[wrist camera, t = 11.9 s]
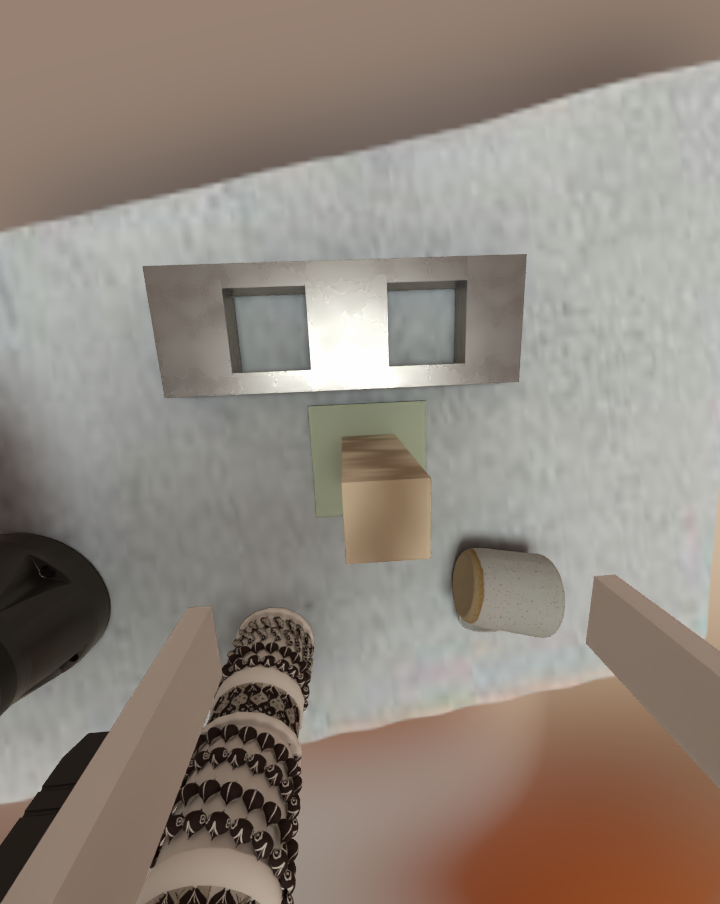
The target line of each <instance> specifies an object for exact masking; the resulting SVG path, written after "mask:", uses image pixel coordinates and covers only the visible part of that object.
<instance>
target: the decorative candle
mask: <svg viewBox="0 0 720 904" xmlns="http://www.w3.org/2000/svg"><path fill="white" fill-rule="evenodd" d="M313 642H314V635H313V633H312V630H311V627H310V625H309V624H308V623H307V622H306V621H305V620H304V619H303V617H302V616H301V615H299V614H297V613H295V612H293V611H290V610H288V609H284V608H267V609H263V610H260V611H256V612H255V613H253V614H252V615H250V616H249V617H248V618H246V619H245V620H244V622H243V623H242V625H241V627H240V629H239V630H238V632H237V639H234V640H233V642H232V644H233V645H234V646H235V647H236V649H237V650H236V649H235V650H233V651H229V652H228V654H227V656H228V657H229V658H228V663H227V664H226V665H224V666H223V668H222V678H221V680H220V683H219V686H218V688H217V692H216V694H215V696H214V701H213V703H212V706H211V708H210V718H209V720H208V722H207V725H206V726H205V727H204V728H202V731H201V733H200V736H199V739H198V741H197V744H196V747H195V749H194V752H193V754H192V757H191V760H190V762H189V765H188V768H187V770H186V773H185V776H184V778H183V781H182V784H181V786H180V789H179V792H178V794H177V797H176V799H175V802H174V805H173V807H172V810H171V813H170V815H169V818H168V821H167V823H166V826H165V829H164V831H163V834H162V837H161V839H160V842H159V844H158V847H157V850H156V852H155V855H154V858H153V860H152V863H151V866H150V869H151V871H150V872H149V874H148V876H147V877H146V879H145V882H144V884H143V887H142V889H141V892H140V895H139V897H138V900H137V903H136V904H294V902H293V897H292V895H291V894H292V893H293V891H294V888H295V881H296V880H295V874H296V866H295V863H294V862H293V861H294V860H295V859H296V857H297V855H298V843H297V842H296V841H295V840H294V839H292V837H294V836H295V835H296V833H297V831H298V821H297V819H296V817H297V816H298V814H299V811H300V798H299V795H298V793H299V792H300V790H301V788H302V779H301V777H300V776H299V775H300V774H301V768H300V764H301V754H302V748H301V746H300V743H299V741H298V734H299V730H300V729H301V725H302V716H303V711H304V710H305V709H306V708H307V706H308V702H307V700H306V699H307V698H308V696H309V687H308V685H307V684H308V683H309V682H310V680H311V668H312V665H313V659H312V655H313V653H314V647H313ZM188 776H189V777H188ZM176 807H177V808H176ZM175 808H176V811H175V812H174V813H172V812H173V810H174V809H175ZM165 836H166V837H165ZM164 837H165V840H164V843H163V845H162V846H160V843H161V841H162V840H163V839H164ZM286 852H287V854H286ZM279 877H280V878H279ZM282 897H283V899H282ZM281 899H282V902H281Z"/></svg>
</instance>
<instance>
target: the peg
mask: <svg viewBox="0 0 720 904" xmlns="http://www.w3.org/2000/svg"><path fill="white" fill-rule="evenodd" d="M341 484H342V502H343V519H344V536H345V554H346V564H354V563H369V562H385V561H400V560H416V559H430V538H431V478H430V476H429V475H428V474H427V473H426V472H425V470H424V469H423V468H422V467H421V465H420V464H419V463H418V462H417V461H416V459H415V458H414V457H413V456H412V455H411V453H410V452H409V451H408V450H407V449H406V447H405V446H404V445H403V444H402V442H401V441H400V440H399V439H398V438H397V436H396V435H395V434H383V435H363V436H343V437H342V476H341Z"/></svg>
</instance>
